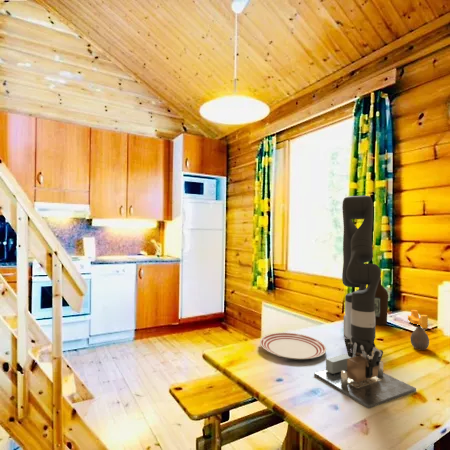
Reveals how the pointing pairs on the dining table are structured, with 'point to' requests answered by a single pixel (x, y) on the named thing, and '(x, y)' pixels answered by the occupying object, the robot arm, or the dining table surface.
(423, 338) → the vase
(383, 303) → the olive oil
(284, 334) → the dinner plate
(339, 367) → the bar
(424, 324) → the pipe clamp
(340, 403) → the dining table surface
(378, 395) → the housing base
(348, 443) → the dining table surface
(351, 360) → the block
